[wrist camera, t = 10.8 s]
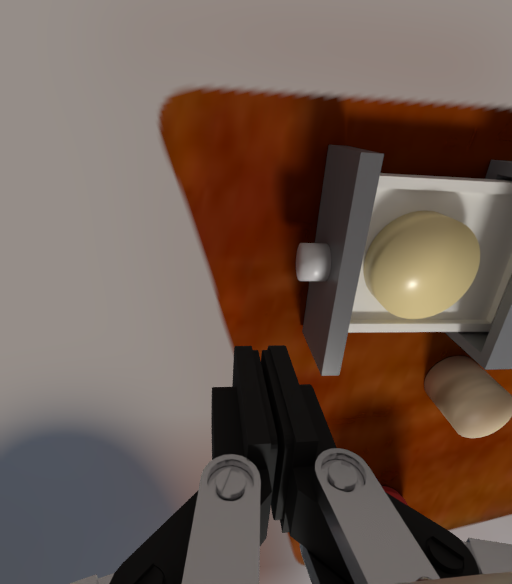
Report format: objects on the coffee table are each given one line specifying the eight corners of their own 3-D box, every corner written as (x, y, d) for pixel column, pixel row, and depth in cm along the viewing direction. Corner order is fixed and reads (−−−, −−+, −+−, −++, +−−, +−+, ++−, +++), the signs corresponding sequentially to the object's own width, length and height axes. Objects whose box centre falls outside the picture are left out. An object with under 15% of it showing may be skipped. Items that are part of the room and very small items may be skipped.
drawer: (534, 158, 25) (614, 168, 20) (470, 330, 30) (519, 371, 26) (303, 142, 22) (329, 150, 18) (282, 331, 28) (297, 376, 23)
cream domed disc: (449, 190, 23) (468, 196, 21) (471, 278, 26) (488, 289, 24) (348, 243, 24) (359, 252, 22) (381, 322, 27) (392, 335, 25)
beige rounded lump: (481, 385, 34) (518, 422, 30) (431, 407, 34) (460, 446, 30) (472, 346, 32) (510, 380, 28) (418, 370, 32) (448, 407, 28)
